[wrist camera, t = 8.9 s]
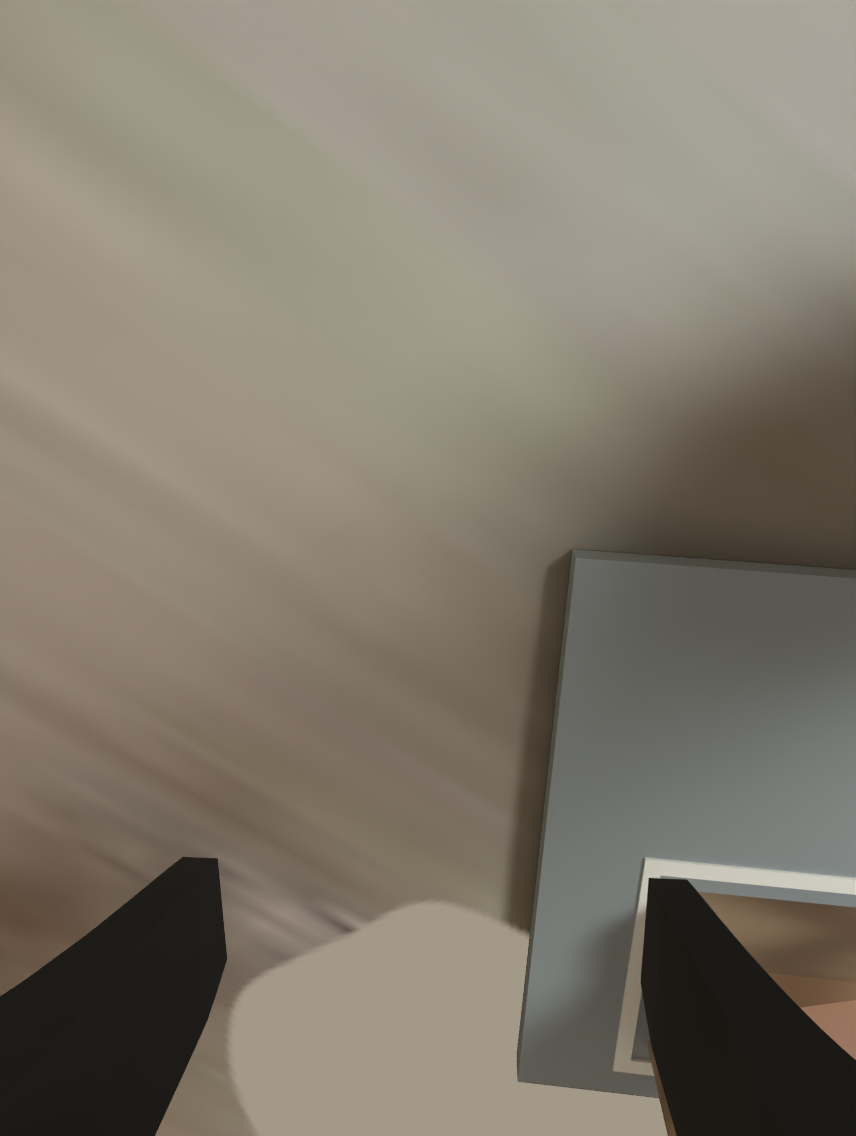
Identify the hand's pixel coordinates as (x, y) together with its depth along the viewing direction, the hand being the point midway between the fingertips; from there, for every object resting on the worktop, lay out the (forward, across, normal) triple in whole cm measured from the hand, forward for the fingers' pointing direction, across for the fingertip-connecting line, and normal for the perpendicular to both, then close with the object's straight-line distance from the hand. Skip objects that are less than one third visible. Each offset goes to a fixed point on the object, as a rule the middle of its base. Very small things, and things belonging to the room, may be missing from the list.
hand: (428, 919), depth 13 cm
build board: (+10, -9, +6) cm, 15 cm away
